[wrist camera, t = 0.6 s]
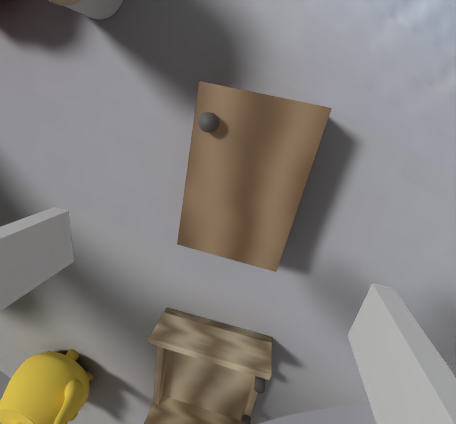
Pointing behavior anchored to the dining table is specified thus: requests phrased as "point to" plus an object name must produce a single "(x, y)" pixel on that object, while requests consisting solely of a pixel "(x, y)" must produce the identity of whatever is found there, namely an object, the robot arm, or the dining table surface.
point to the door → (247, 172)
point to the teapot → (46, 390)
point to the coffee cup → (92, 7)
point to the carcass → (206, 371)
